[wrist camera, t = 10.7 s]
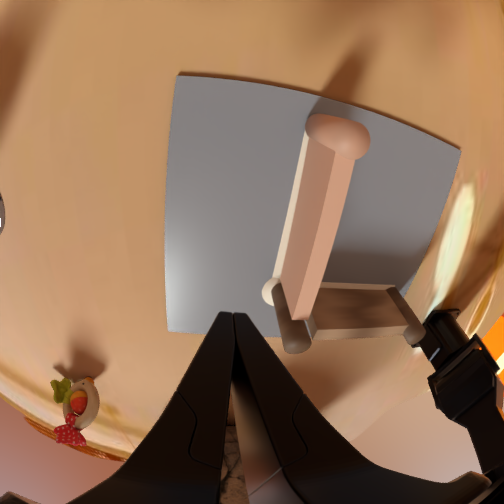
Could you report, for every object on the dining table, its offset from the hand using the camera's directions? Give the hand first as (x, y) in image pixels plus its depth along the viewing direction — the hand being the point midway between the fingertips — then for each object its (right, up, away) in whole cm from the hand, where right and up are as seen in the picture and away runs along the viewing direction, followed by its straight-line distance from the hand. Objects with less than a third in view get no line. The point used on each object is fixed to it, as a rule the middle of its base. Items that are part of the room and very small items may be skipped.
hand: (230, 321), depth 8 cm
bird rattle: (-23, -16, +22) cm, 36 cm away
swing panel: (+4, +6, +11) cm, 13 cm away
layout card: (+6, +3, +14) cm, 15 cm away
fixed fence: (+9, -2, +17) cm, 19 cm away
